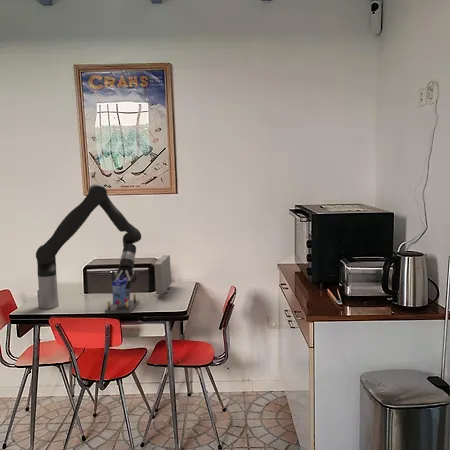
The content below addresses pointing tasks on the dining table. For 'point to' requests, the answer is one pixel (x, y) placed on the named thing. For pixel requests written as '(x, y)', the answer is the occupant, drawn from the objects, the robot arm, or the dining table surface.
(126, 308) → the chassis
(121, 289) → the ink cartridge box
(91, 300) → the dining table surface
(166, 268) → the network device
